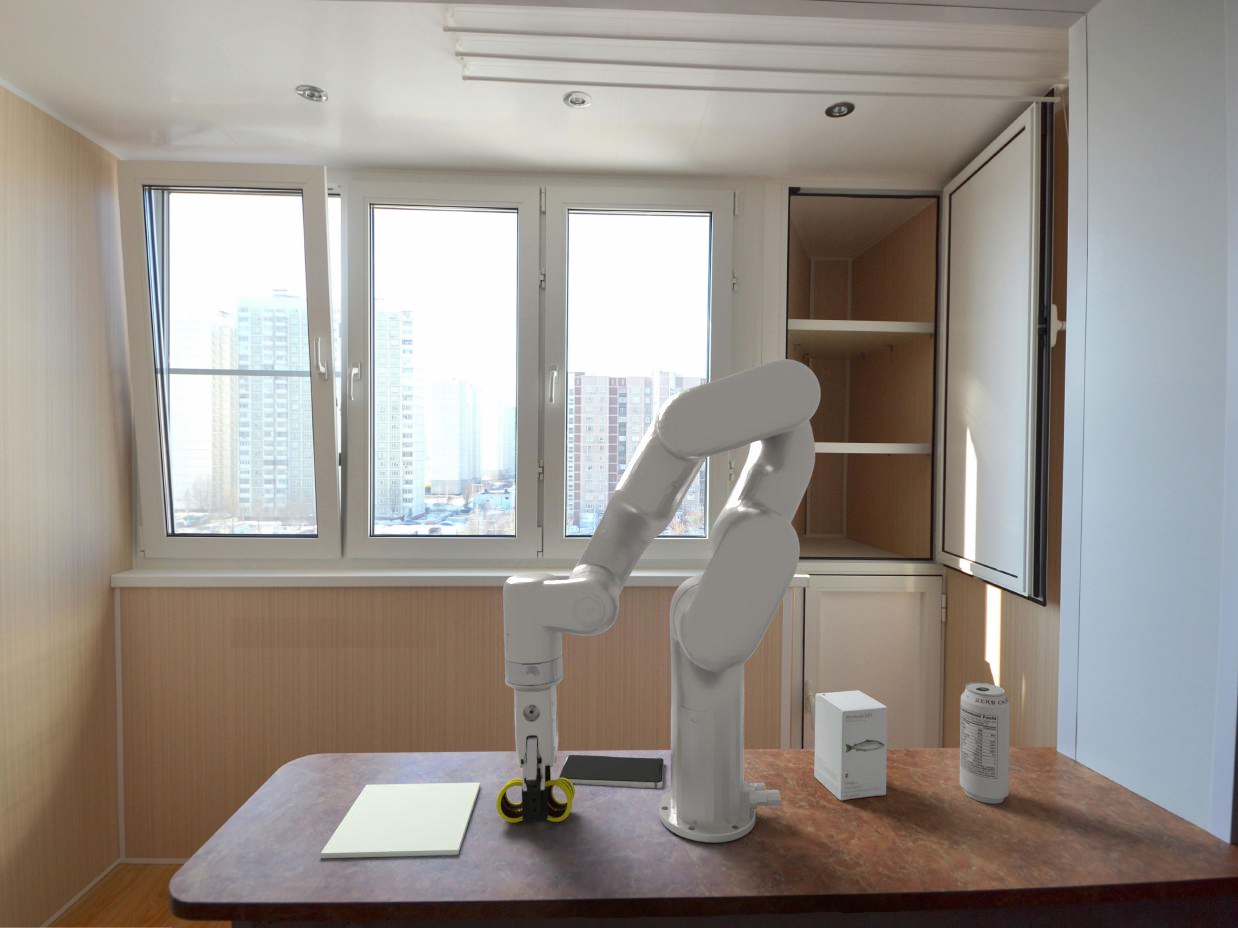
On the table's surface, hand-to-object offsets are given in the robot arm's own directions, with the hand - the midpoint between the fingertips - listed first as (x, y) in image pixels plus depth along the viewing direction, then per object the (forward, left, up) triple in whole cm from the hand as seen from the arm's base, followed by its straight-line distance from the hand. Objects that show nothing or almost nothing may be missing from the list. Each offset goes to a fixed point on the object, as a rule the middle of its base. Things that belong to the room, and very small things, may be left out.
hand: (537, 804), depth 86 cm
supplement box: (-44, -6, -2) cm, 45 cm away
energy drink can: (-62, -3, -2) cm, 62 cm away
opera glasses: (0, 0, -1) cm, 1 cm away
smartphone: (-10, -12, -2) cm, 16 cm away
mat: (+17, 0, -2) cm, 17 cm away
